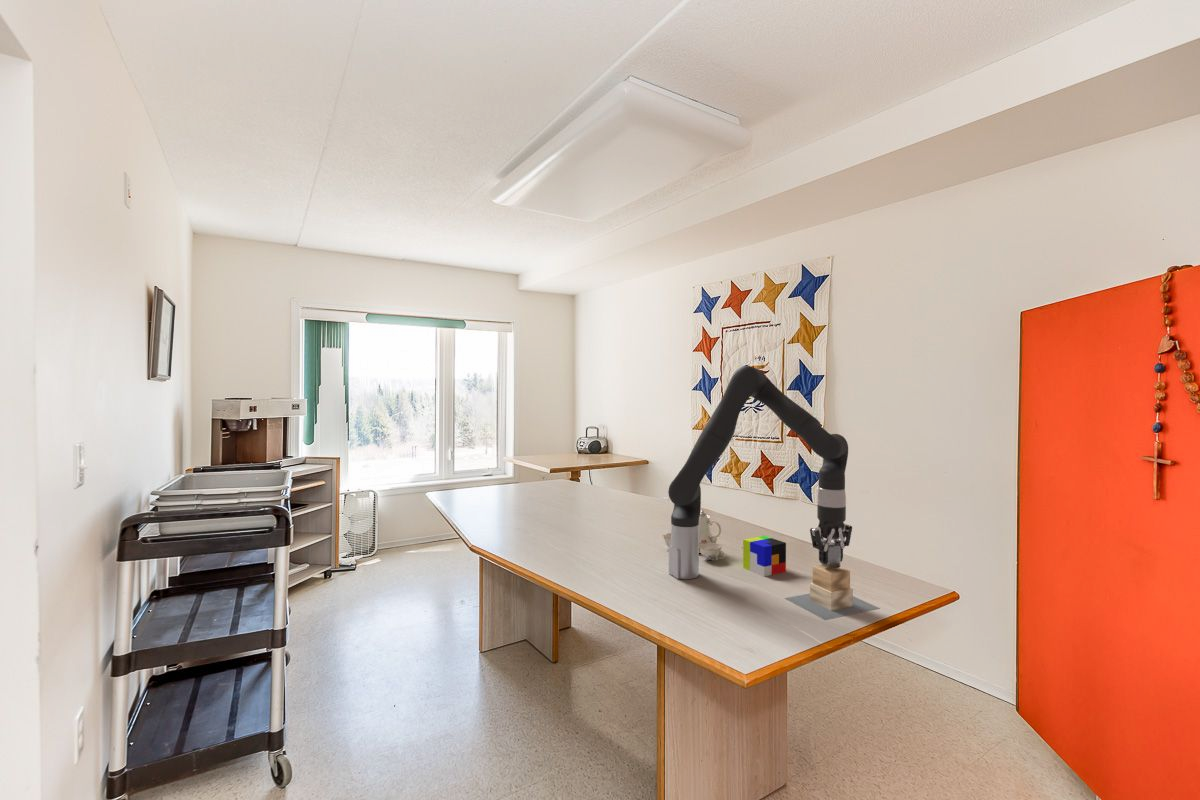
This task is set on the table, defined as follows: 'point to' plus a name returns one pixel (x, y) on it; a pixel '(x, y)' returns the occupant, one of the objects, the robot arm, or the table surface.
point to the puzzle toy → (764, 555)
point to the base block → (831, 597)
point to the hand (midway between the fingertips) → (831, 561)
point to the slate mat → (828, 614)
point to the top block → (831, 578)
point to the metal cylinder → (833, 555)
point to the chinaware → (704, 538)
